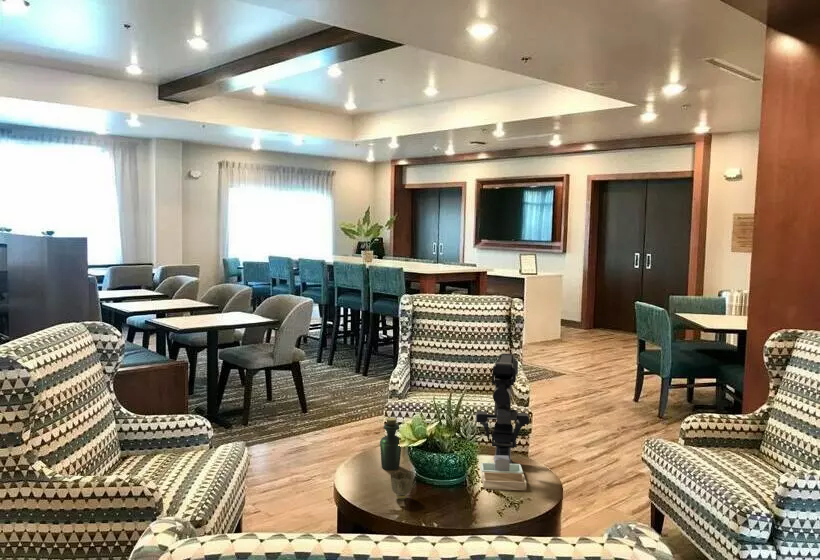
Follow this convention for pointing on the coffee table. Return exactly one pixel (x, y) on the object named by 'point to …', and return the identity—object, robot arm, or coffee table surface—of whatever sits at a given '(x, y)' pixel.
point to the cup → (401, 483)
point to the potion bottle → (390, 446)
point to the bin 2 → (503, 481)
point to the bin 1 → (512, 469)
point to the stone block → (501, 463)
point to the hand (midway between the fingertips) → (501, 441)
